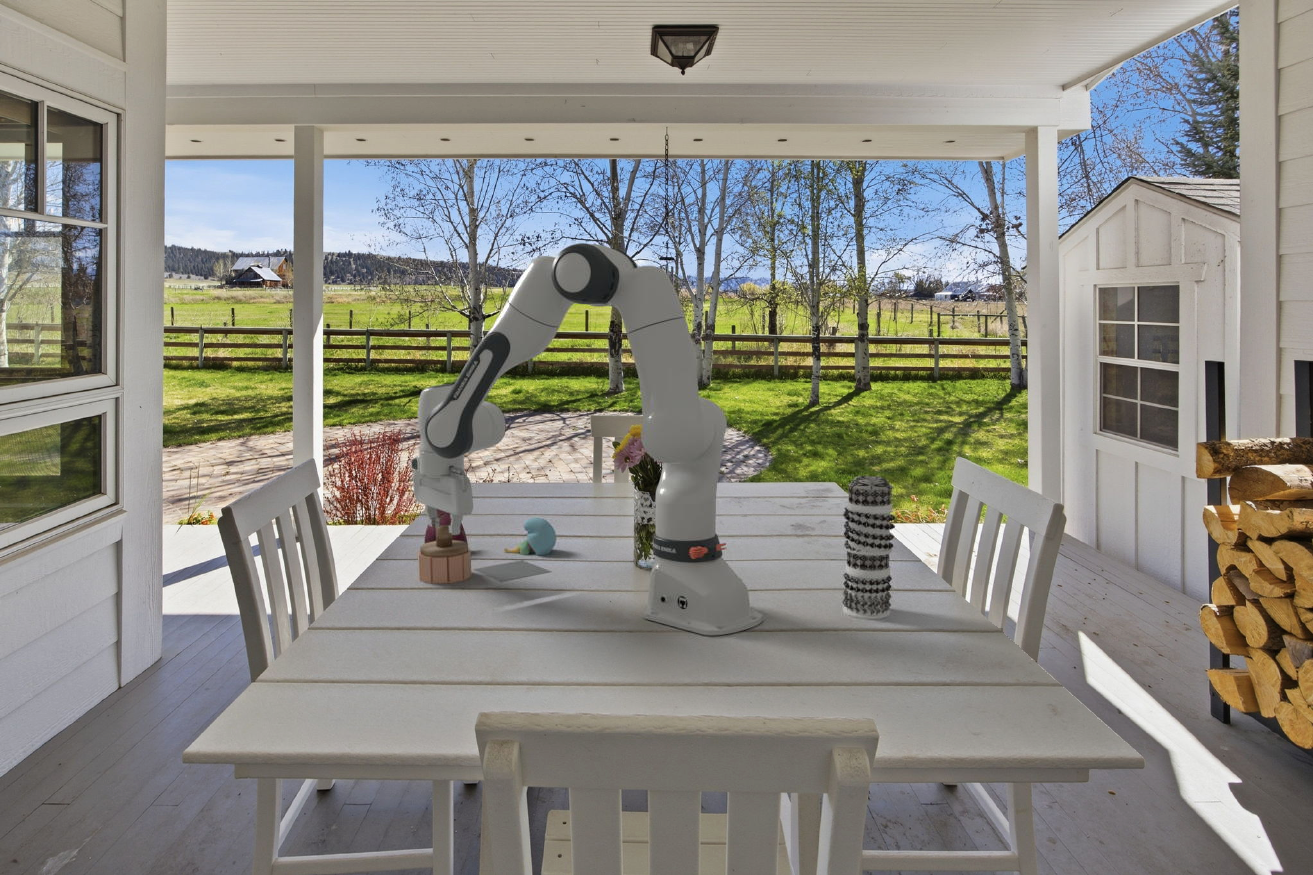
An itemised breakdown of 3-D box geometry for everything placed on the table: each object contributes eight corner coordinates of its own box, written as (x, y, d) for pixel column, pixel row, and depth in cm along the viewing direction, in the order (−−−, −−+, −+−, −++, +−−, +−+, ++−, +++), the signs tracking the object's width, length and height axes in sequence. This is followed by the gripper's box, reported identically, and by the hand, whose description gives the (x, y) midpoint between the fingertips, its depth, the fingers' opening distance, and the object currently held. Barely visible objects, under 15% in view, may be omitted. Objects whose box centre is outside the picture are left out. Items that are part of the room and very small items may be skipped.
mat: (551, 575, 188) (551, 571, 188) (501, 585, 180) (501, 581, 180) (522, 563, 197) (522, 560, 197) (473, 572, 190) (473, 569, 190)
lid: (476, 552, 183) (475, 527, 182) (432, 559, 177) (432, 534, 176) (455, 543, 190) (454, 519, 190) (412, 550, 184) (411, 525, 184)
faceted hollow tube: (480, 580, 184) (479, 552, 183) (431, 590, 177) (430, 560, 176) (457, 569, 192) (456, 542, 191) (409, 578, 185) (408, 550, 184)
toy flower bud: (504, 517, 207) (555, 513, 207) (507, 554, 208) (559, 551, 208) (498, 524, 200) (551, 520, 200) (502, 562, 201) (555, 558, 201)
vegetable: (417, 569, 205) (397, 507, 203) (448, 553, 213) (428, 494, 212) (451, 564, 199) (430, 500, 198) (480, 548, 208) (460, 487, 206)
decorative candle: (831, 613, 163) (835, 478, 160) (854, 601, 170) (858, 472, 167) (878, 623, 158) (883, 484, 154) (900, 610, 165) (904, 477, 162)
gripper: (480, 468, 176) (482, 536, 177) (434, 456, 191) (437, 520, 193) (450, 471, 172) (452, 541, 173) (406, 459, 187) (409, 524, 189)
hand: (444, 530), depth 183 cm, fingers open, 8 cm apart
